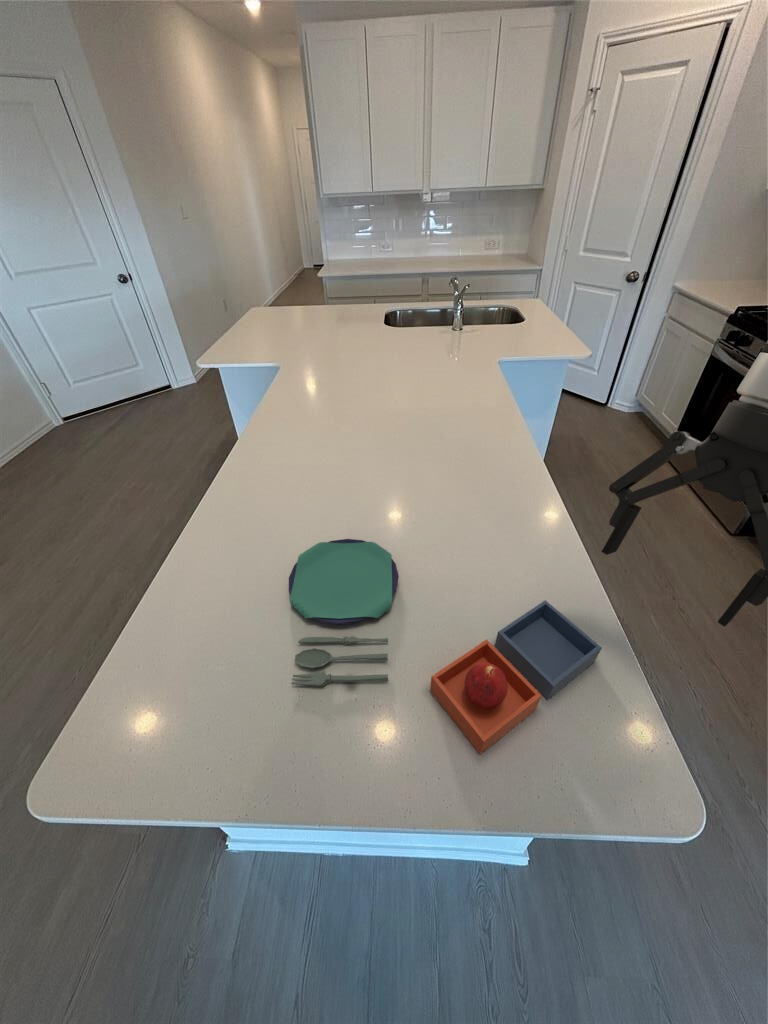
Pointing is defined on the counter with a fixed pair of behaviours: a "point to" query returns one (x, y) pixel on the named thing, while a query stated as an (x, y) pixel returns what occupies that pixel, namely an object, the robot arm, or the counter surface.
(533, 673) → the blue bin
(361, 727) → the counter surface
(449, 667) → the terracotta bin
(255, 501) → the counter surface
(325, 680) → the cutlery set
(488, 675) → the red rounded oval piece
